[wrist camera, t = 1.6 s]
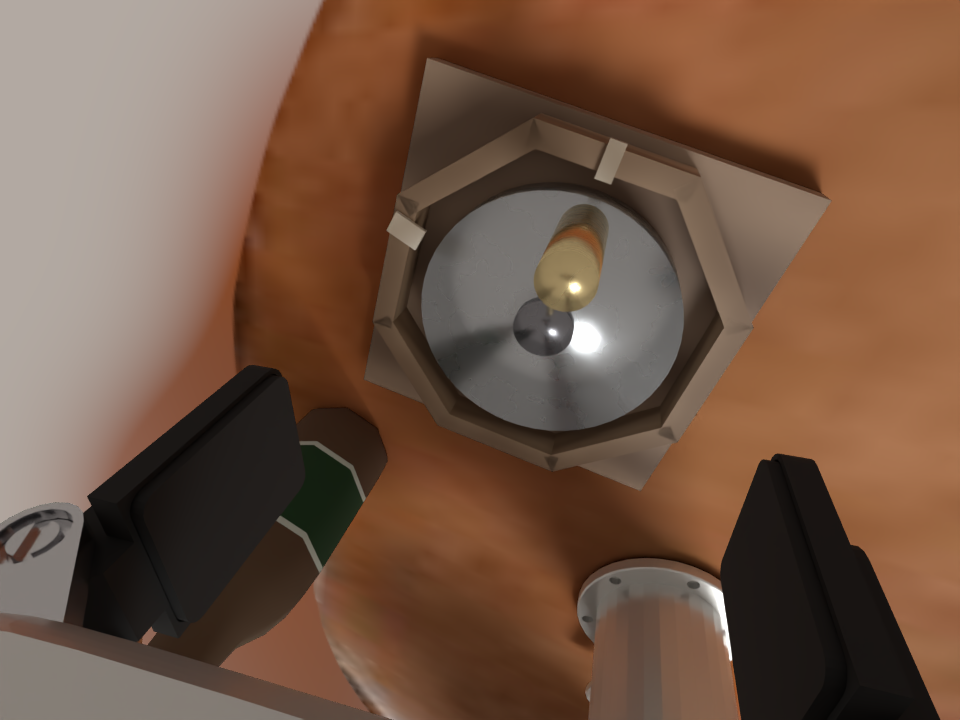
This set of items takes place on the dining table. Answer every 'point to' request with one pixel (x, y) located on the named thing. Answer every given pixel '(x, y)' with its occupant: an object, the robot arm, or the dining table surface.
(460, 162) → the dial housing
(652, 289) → the dial
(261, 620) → the beer bottle
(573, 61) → the dining table surface
